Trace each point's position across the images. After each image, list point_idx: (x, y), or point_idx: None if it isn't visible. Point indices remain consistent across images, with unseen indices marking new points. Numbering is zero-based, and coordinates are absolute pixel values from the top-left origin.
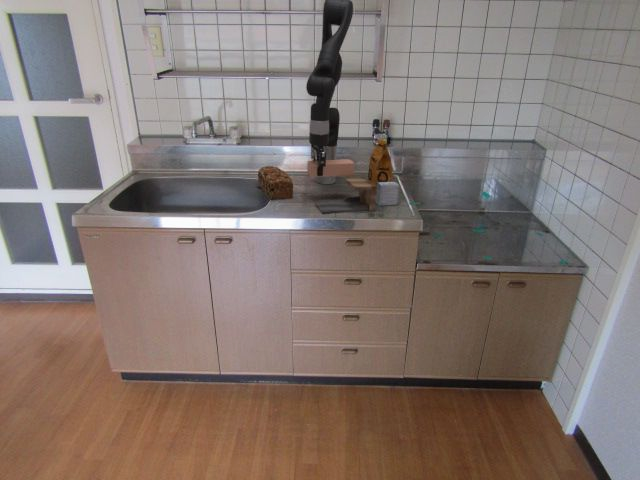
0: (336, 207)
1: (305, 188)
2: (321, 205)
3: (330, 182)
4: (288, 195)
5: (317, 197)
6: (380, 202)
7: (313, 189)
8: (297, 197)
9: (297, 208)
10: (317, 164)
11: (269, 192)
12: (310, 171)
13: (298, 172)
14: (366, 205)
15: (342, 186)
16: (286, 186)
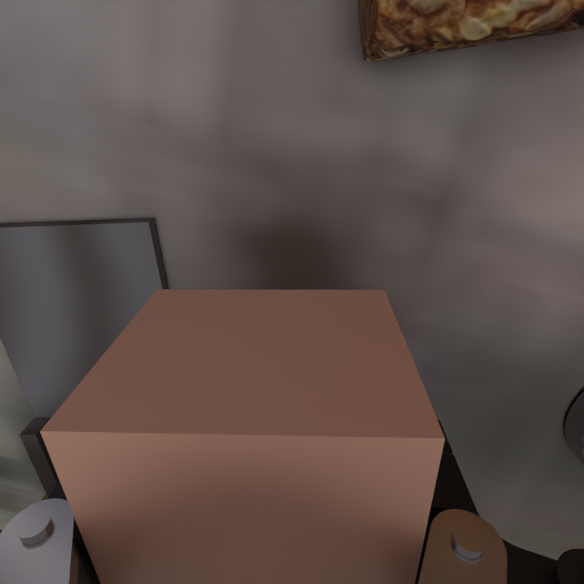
0: (61, 341)
1: (564, 243)
2: (98, 257)
3: (571, 435)
4: (360, 5)
5: (323, 279)
6: None
7: (511, 296)
8: (362, 116)
9: (77, 45)
10: (44, 546)
11: None
12: (177, 330)
13: None
14: (50, 490)
15: (489, 472)
16: None
